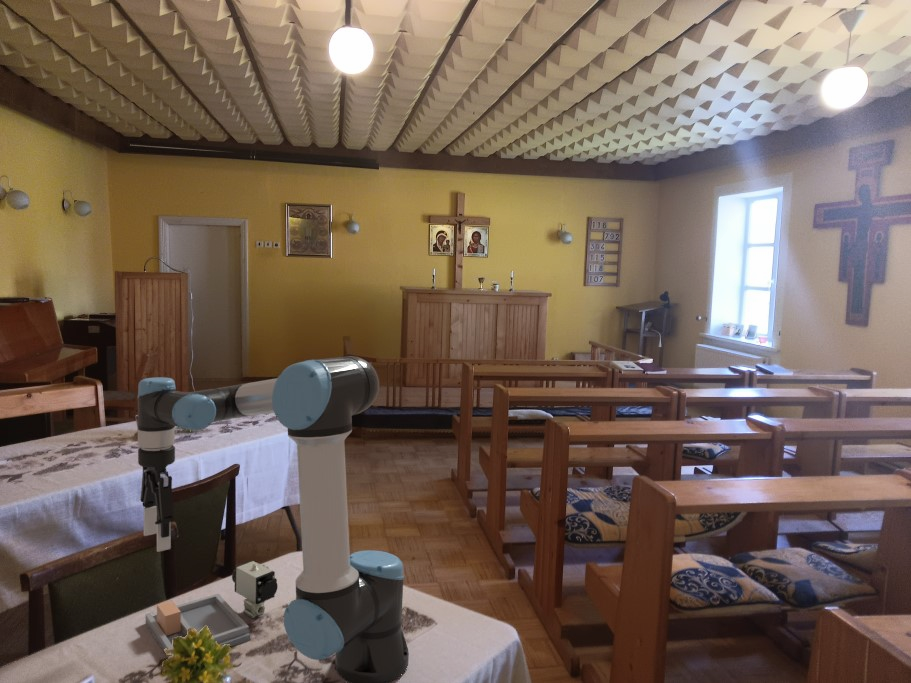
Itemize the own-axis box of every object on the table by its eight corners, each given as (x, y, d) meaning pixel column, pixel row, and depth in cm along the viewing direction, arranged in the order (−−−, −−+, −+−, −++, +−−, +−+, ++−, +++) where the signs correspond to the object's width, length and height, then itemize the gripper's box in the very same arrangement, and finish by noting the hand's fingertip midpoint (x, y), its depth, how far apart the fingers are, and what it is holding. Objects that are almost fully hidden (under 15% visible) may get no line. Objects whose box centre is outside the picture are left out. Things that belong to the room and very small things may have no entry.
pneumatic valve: (260, 626, 142) (261, 575, 141) (230, 608, 149) (231, 560, 148) (280, 616, 147) (281, 567, 146) (250, 599, 154) (251, 552, 153)
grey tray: (250, 639, 137) (250, 624, 137) (173, 666, 126) (173, 649, 126) (216, 602, 152) (216, 587, 152) (145, 623, 141) (145, 608, 141)
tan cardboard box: (180, 631, 137) (180, 611, 136) (165, 636, 135) (165, 616, 134) (172, 619, 141) (172, 600, 141) (156, 623, 139) (156, 604, 139)
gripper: (190, 455, 135) (190, 555, 137) (159, 433, 152) (159, 522, 154) (153, 461, 130) (153, 564, 132) (125, 437, 147) (126, 529, 149)
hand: (156, 541), depth 143 cm, fingers open, 10 cm apart
